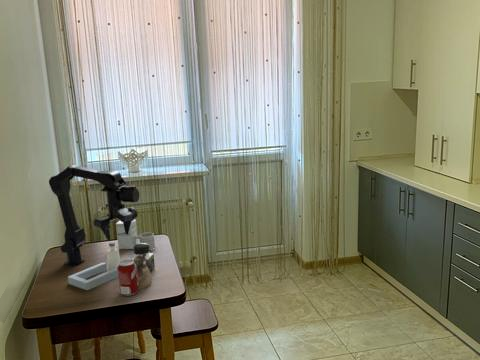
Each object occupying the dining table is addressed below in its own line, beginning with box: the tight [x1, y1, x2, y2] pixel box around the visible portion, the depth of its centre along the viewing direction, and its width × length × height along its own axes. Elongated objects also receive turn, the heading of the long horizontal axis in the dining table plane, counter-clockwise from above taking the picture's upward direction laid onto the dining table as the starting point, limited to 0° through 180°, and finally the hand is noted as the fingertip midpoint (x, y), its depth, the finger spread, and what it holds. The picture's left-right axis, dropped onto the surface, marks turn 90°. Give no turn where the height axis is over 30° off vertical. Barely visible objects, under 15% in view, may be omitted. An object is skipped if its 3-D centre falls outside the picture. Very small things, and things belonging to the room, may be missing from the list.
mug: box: [134, 232, 156, 251], centre depth 224 cm, size 10×7×7 cm, turn 79°
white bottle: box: [106, 242, 121, 271], centre depth 199 cm, size 5×5×12 cm
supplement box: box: [115, 218, 139, 250], centre depth 227 cm, size 7×7×13 cm
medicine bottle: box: [130, 242, 156, 275], centre depth 195 cm, size 7×7×12 cm
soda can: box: [117, 259, 140, 297], centre depth 177 cm, size 7×7×12 cm
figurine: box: [133, 253, 152, 289], centre depth 184 cm, size 7×7×12 cm
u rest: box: [67, 261, 118, 291], centre depth 192 cm, size 12×17×3 cm
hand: (118, 237), depth 203 cm, fingers open, 9 cm apart
